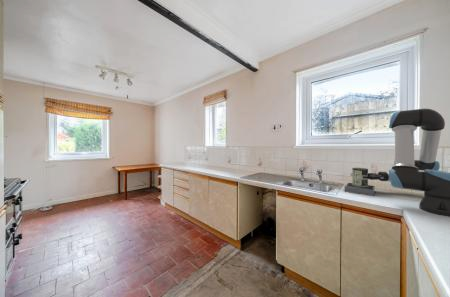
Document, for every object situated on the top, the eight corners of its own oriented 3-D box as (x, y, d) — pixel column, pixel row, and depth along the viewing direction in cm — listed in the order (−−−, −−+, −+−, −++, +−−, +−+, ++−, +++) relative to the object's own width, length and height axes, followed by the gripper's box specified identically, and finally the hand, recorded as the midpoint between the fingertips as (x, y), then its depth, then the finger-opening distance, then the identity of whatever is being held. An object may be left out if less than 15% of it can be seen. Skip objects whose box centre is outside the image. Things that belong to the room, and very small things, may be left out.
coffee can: (366, 184, 139) (366, 168, 138) (369, 187, 130) (369, 169, 130) (351, 183, 144) (351, 167, 144) (353, 186, 135) (353, 168, 135)
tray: (374, 190, 137) (374, 185, 137) (373, 195, 124) (373, 190, 124) (347, 186, 150) (347, 182, 150) (344, 191, 137) (344, 186, 136)
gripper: (396, 184, 122) (361, 183, 127) (376, 178, 144) (347, 177, 149) (397, 174, 121) (361, 173, 127) (376, 169, 143) (347, 169, 149)
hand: (353, 175), depth 138 cm, fingers closed on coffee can, 10 cm apart
